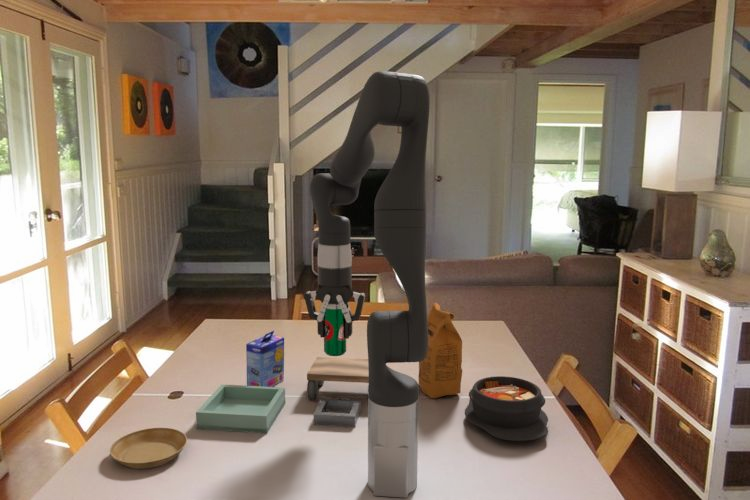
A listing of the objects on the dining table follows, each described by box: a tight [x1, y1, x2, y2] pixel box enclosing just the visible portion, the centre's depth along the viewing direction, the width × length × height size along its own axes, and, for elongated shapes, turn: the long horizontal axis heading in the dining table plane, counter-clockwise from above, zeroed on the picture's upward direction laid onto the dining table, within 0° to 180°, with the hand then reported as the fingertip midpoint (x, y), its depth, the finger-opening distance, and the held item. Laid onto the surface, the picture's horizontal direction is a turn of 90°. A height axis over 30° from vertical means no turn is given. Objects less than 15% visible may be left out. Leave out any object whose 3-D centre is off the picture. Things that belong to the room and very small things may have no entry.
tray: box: [195, 384, 286, 434], centre depth 145 cm, size 16×16×4 cm
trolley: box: [306, 356, 369, 401], centre depth 158 cm, size 14×18×7 cm
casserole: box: [464, 375, 549, 442], centre depth 142 cm, size 25×19×8 cm
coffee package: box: [418, 302, 463, 399], centre depth 159 cm, size 10×12×22 cm
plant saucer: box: [109, 427, 188, 470], centre depth 127 cm, size 15×15×3 cm
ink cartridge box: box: [245, 330, 285, 387], centre depth 163 cm, size 10×6×14 cm, turn 152°
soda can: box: [323, 303, 347, 357], centre depth 141 cm, size 5×5×12 cm
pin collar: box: [313, 397, 362, 428], centre depth 145 cm, size 9×9×2 cm
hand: (335, 336), depth 142 cm, fingers closed on soda can, 5 cm apart
